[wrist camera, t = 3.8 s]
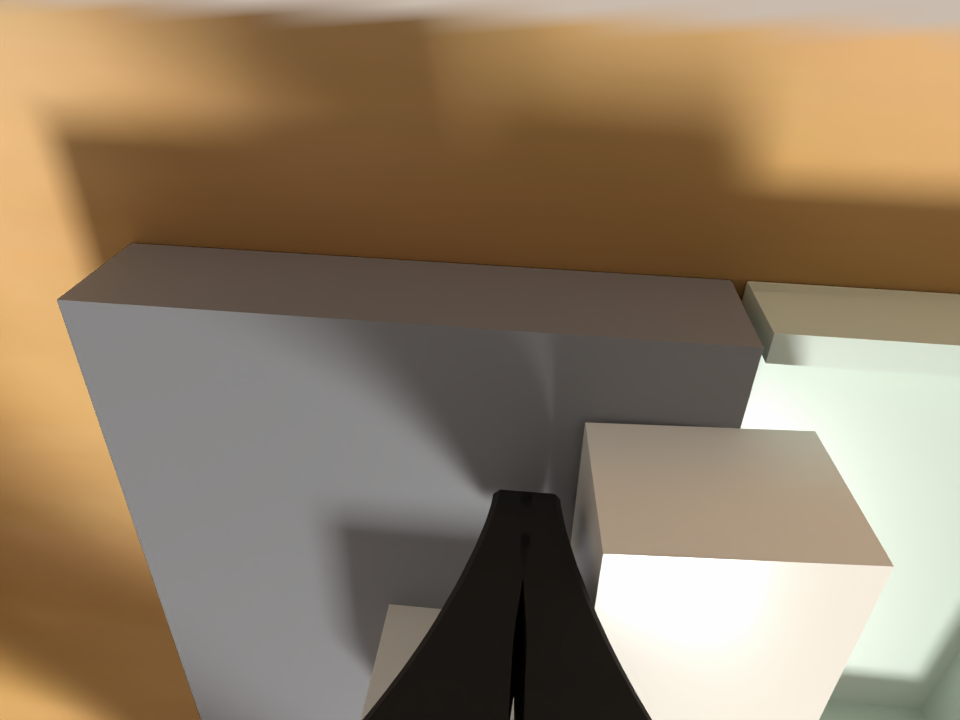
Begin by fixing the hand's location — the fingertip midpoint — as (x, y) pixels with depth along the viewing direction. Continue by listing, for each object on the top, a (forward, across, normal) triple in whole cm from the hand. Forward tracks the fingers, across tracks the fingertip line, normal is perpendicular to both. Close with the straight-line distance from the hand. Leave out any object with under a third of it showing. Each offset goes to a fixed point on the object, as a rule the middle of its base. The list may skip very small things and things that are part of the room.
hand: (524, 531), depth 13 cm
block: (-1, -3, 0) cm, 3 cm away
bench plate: (+3, +2, +3) cm, 5 cm away
